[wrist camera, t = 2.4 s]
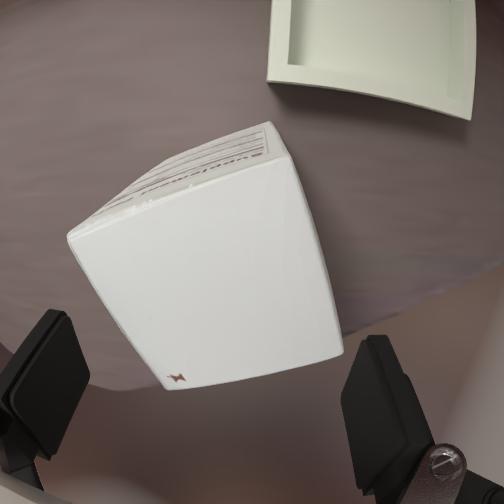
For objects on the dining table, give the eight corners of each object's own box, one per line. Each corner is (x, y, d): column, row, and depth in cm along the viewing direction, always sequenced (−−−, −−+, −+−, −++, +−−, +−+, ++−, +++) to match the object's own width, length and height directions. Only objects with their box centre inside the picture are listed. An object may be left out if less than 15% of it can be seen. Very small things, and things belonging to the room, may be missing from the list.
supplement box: (305, 222, 22) (349, 361, 10) (204, 251, 23) (162, 396, 12) (273, 117, 18) (297, 150, 7) (163, 155, 20) (56, 239, 8)
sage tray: (276, -83, 11) (278, -100, 9) (452, -37, 11) (469, -45, 9) (266, 82, 17) (267, 80, 15) (451, 116, 17) (470, 120, 15)
